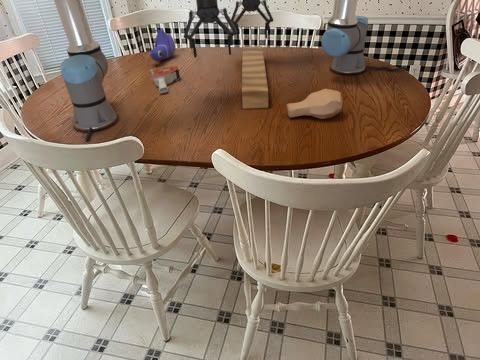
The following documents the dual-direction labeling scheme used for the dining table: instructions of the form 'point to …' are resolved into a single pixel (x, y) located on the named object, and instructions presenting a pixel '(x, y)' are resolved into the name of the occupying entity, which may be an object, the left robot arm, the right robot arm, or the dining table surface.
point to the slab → (254, 78)
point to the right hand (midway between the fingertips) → (252, 38)
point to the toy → (162, 46)
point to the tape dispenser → (164, 77)
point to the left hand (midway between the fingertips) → (212, 55)
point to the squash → (317, 105)
